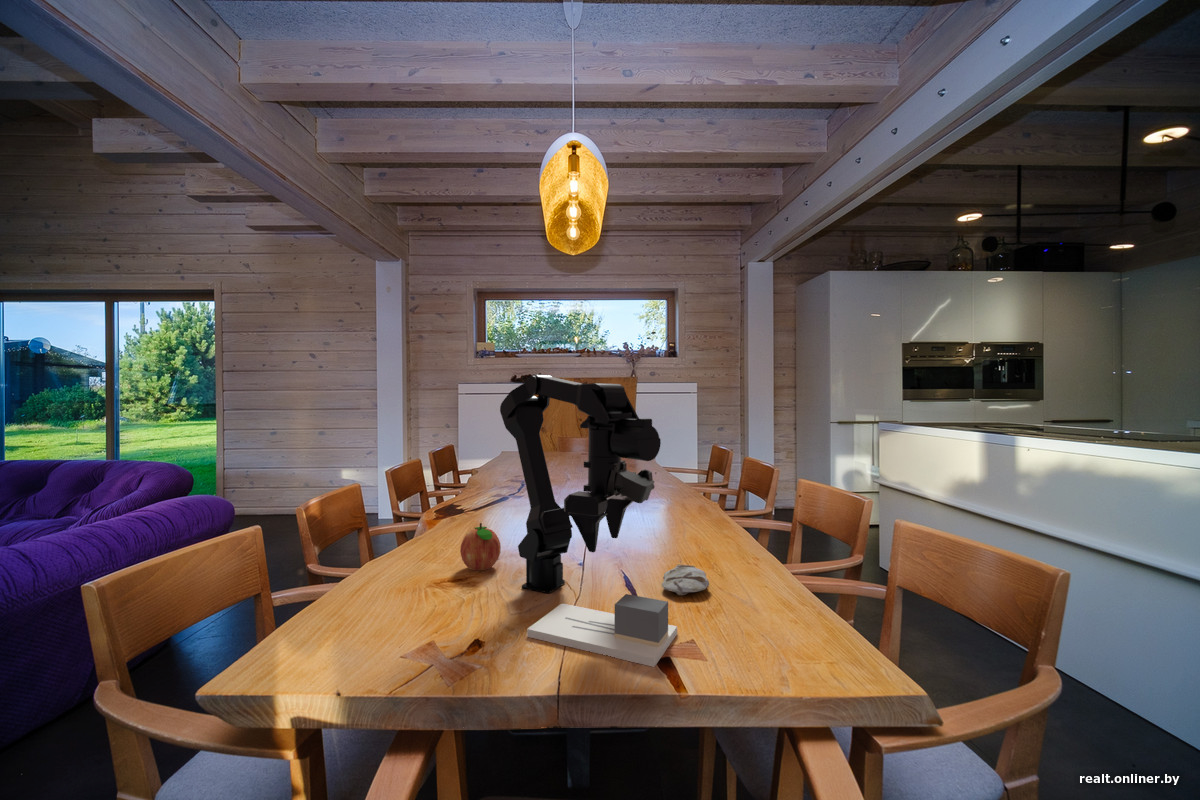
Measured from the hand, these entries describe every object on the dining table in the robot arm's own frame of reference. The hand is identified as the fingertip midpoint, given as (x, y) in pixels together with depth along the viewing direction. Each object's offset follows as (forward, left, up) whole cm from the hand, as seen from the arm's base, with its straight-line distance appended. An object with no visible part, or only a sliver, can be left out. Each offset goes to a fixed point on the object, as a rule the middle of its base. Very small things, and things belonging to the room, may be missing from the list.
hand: (603, 544), depth 88 cm
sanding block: (+10, -8, -11) cm, 17 cm away
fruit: (-34, +9, -12) cm, 37 cm away
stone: (+10, +17, -12) cm, 23 cm away
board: (+3, -8, -12) cm, 15 cm away
